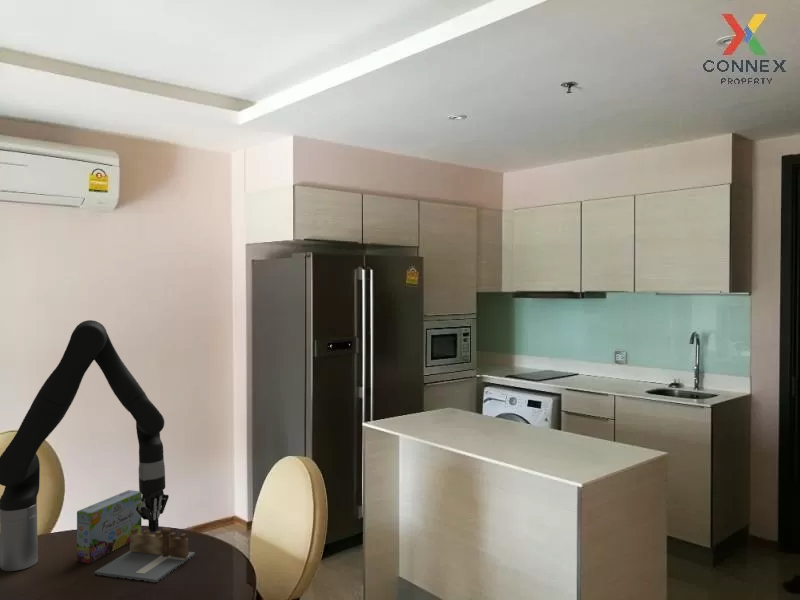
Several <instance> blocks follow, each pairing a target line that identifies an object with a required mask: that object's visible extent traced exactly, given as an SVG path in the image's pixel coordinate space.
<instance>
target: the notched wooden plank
mask: <svg viewBox="0 0 800 600" xmlns="http://www.w3.org/2000/svg"><path fill="white" fill-rule="evenodd" d="M160 531H161V532H162V539H163V557H167V556H175V557H183V558H186V557H188V556H189V552H190V551H189V537H188V534H187V533H185V532H183V533H182V534H180V536H177V532H175V531H174V532H171V531H172V529H171V528H170V527H163V528H161V529H160ZM170 532H171V533H170Z"/></svg>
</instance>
